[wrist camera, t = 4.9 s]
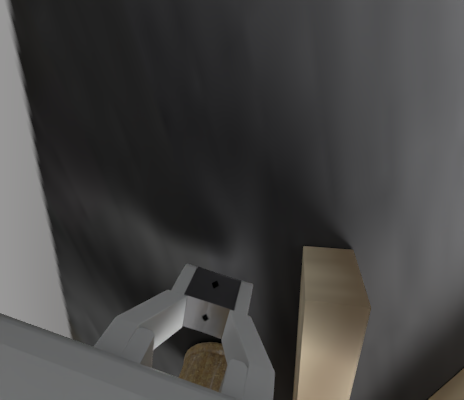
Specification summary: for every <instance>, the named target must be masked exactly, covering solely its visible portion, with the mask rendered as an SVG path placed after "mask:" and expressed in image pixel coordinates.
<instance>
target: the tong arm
mask: <svg viewBox="0 0 464 400" xmlns="http://www.w3.org/2000/svg"><path fill="white" fill-rule="evenodd" d="M370 310H371V306H370V303H369V299H368V296H367V293H366V290H365V286H364V283H363V280H362V277H361V273H360V270H359V267H358V264H357V260H356V257H355V254H354V251H353V250H351V249H337V248H324V247H310V246H303V257H302V272H301V286H300V301H299V316H298V330H297V345H296V359H295V374H294V389H293V400H349V398H350V394H351V390H352V386H353V381H354V377H355V373H356V369H357V365H358V361H359V356H360V352H361V348H362V344H363V340H364V335H365V331H366V327H367V323H368V319H369V315H370Z"/></svg>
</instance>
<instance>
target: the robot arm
mask: <svg viewBox="0 0 464 400" xmlns="http://www.w3.org/2000/svg"><path fill="white" fill-rule="evenodd" d="M252 290H253V284H252V283H249V282H245V281H241V280H239V279H235V278H232V277H229V276H226V275H222V274H218V273H215V272H213V271H210V270H207V269H204V268H201V267H197V266H194V265H191V264H188V263H187V264H186V265H185V266H184V268H183V270H182V272H181V273H180V275H179V277H178V279H177V280H176V282H175V284H174V286H173V287H172V289H171V290H166V291H164V292H162V293H160V294H158V295H156V296H154V297H152V298H151V299H149V300H147V301H145V302H143V303H141V304H139V305H137V306H135V307H133V308H132V309H130V310H128V311H126V312H124V313H122V314H120V315H118V316H116V317H115V318H114V320H113V321H112V322H111V324H110V325H109V327H108V328H107V329H106V331H105V332H104V333H103V335H102V336H101V338H100V339H99V340H98V342H97V343H96V344H95V346H94V347H92V346H89V345H87V344H84V343H81V342H78V341H76V340H73V339H70V338H67V337H64V336H61V335H59V334H56V333H53V332H50V331H48V330H45V329H42V328H39V327H37V326H34V325H31V324H28V323H25V322H23V321H20V320H17V319H14V318H12V317H9V316H6V315H4V314H1V313H0V400H273V394H274V380H275V371H274V369H273V367H272V364H271V362H270V360H269V357H268V355H267V353H266V351H265V348H264V346H263V344H262V341H261V339H260V337H259V334H258V332H257V330H256V328H255V325H254V323H253V321H252V318H251V317H250V316H247V315H248V310H249V305H250V300H251V295H252ZM182 326H184V327H188V328H191V329H194V330H197V331H201V332H203V333H206V334H209V335H212V336H214V337H217V338H220V339H221V341H222V345H223V349H224V354H225V358H226V362H227V368H226V371H225V374H224V377H223V380H222V383H221V386H220V389H219V392H217V391H214V390H212V389H209V388H206V387H203V386H200V385H198V384H195V383H192V382H189V381H187V380H184V379H181V378H178V377H175V376H173V375H170V374H167V373H164V372H161V371H159V370H156V369H153V368H152V359H153V350H154V349H155V348H156V347H158V346H159V345H160V344H161V343H163V342H164V341H165V340H167V339H168V338H169V337H170V336H172V335H173V334H174V333H175V332H177V331H178V330H179V329H181V328H182Z"/></svg>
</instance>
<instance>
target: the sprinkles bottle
mask: <svg viewBox="0 0 464 400" xmlns="http://www.w3.org/2000/svg"><path fill="white" fill-rule="evenodd" d="M226 368H227V362H226V358H225V354H224V349H223V345H222V344H221V343H217V342H205V343H199V344H196V345H195V346H193V347H191V348H190V349H189V350H188V351H187V352H186V354H185V357H184V364H183V367H182V371H181V373H180V375H179V378H181V379H184V380H187V381H189V382H192V383H195V384H198V385H200V386H203V387H206V388H209V389H212V390H214V391H217V392H219V389H220V386H221V383H222V380H223V377H224V374H225V371H226Z"/></svg>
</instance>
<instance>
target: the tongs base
mask: <svg viewBox="0 0 464 400" xmlns="http://www.w3.org/2000/svg"><path fill="white" fill-rule="evenodd" d="M428 400H464V368H463V369H462V370H461V371H460V372H459V373H458V374H457V375H455V376H454V377H453V378H452V379H451V380H450V381H449V382H448V383H446V384H445V385H444V386H443V387H442V388H441V389H440V390H438V391H437V392H436V393H435V394H434V395H433V396H432V397H430V398H429V399H428Z"/></svg>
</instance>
